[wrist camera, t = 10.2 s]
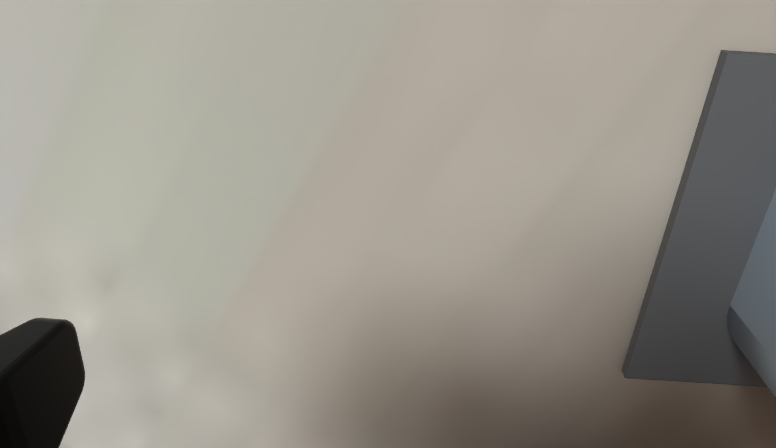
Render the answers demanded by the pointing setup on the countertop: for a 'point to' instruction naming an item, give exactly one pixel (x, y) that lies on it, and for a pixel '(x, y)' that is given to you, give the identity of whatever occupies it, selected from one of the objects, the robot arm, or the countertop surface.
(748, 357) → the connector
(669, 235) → the mat
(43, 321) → the robot arm
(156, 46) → the countertop surface
